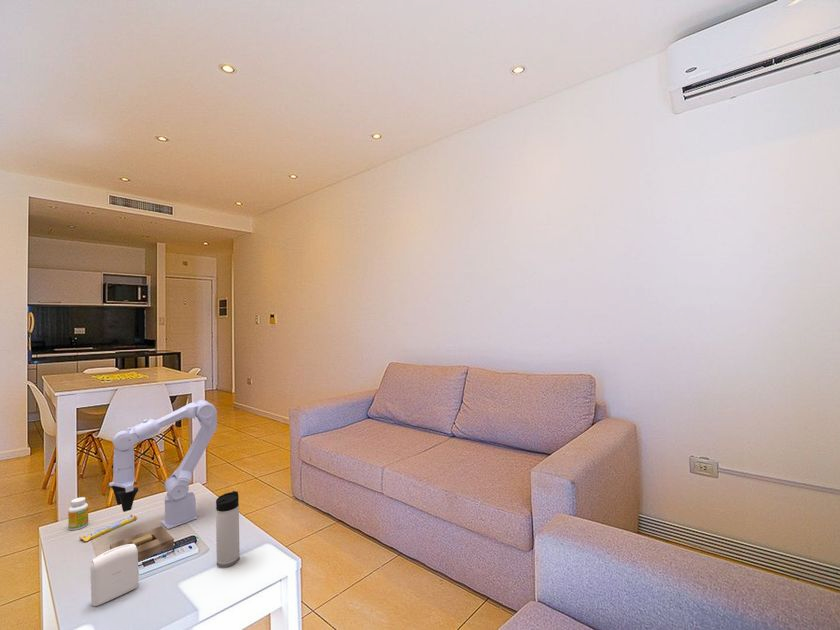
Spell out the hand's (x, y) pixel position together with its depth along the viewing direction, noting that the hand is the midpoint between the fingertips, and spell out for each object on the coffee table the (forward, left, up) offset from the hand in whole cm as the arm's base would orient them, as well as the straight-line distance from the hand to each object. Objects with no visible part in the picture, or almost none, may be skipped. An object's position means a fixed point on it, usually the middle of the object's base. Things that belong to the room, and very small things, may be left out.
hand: (124, 507), depth 133 cm
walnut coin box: (-1, +16, -10) cm, 19 cm away
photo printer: (+9, +32, -11) cm, 35 cm away
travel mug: (-17, +41, -11) cm, 46 cm away
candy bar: (+2, -11, -11) cm, 16 cm away
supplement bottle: (+9, -22, -11) cm, 26 cm away
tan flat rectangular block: (-1, +16, -11) cm, 19 cm away
